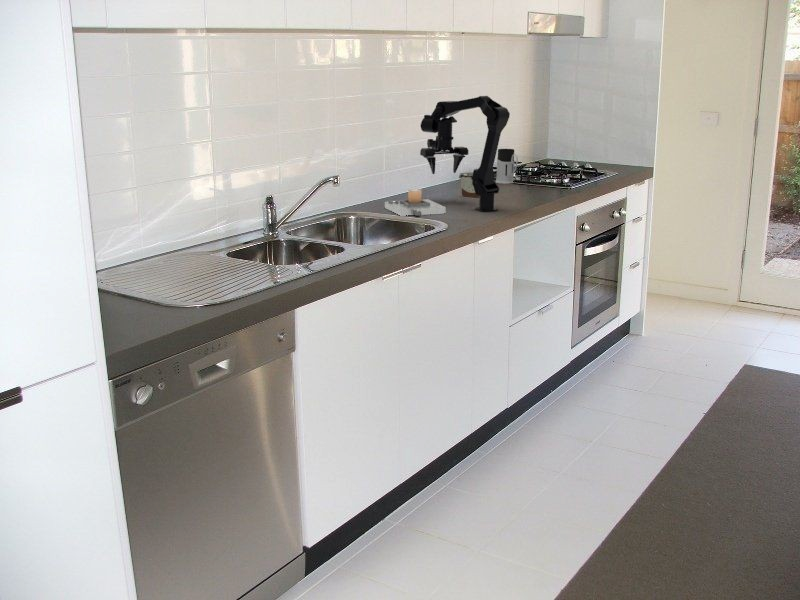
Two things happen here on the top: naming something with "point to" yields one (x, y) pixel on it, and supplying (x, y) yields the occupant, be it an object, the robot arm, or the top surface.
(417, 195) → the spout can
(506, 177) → the grey jug
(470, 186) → the food container
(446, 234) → the top surface
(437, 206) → the gearbox housing
